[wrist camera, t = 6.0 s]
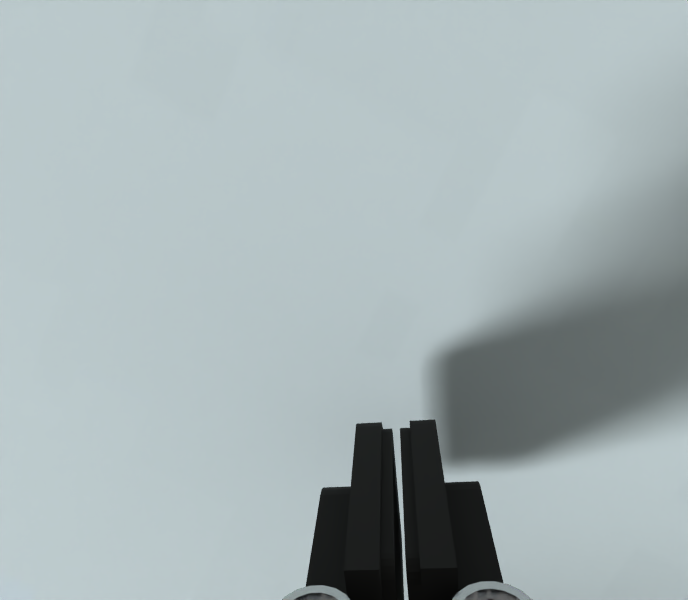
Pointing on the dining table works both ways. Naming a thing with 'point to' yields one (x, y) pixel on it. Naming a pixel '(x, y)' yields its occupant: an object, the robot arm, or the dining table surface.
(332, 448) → the dining table surface
